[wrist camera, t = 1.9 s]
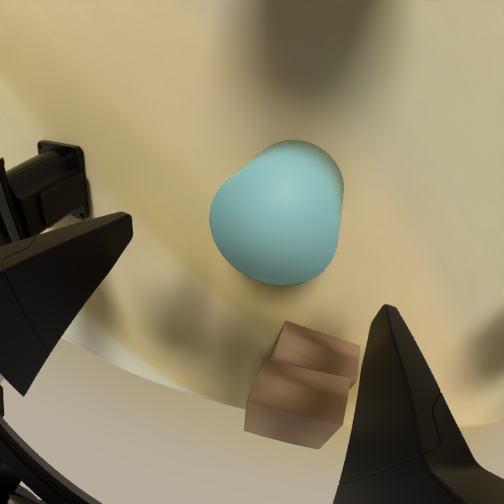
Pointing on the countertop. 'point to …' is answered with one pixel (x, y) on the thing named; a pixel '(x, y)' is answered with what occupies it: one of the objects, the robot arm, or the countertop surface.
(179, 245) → the countertop surface
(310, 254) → the teal rounded cylinder
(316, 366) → the bottom slab
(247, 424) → the stepped brown block
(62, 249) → the robot arm
